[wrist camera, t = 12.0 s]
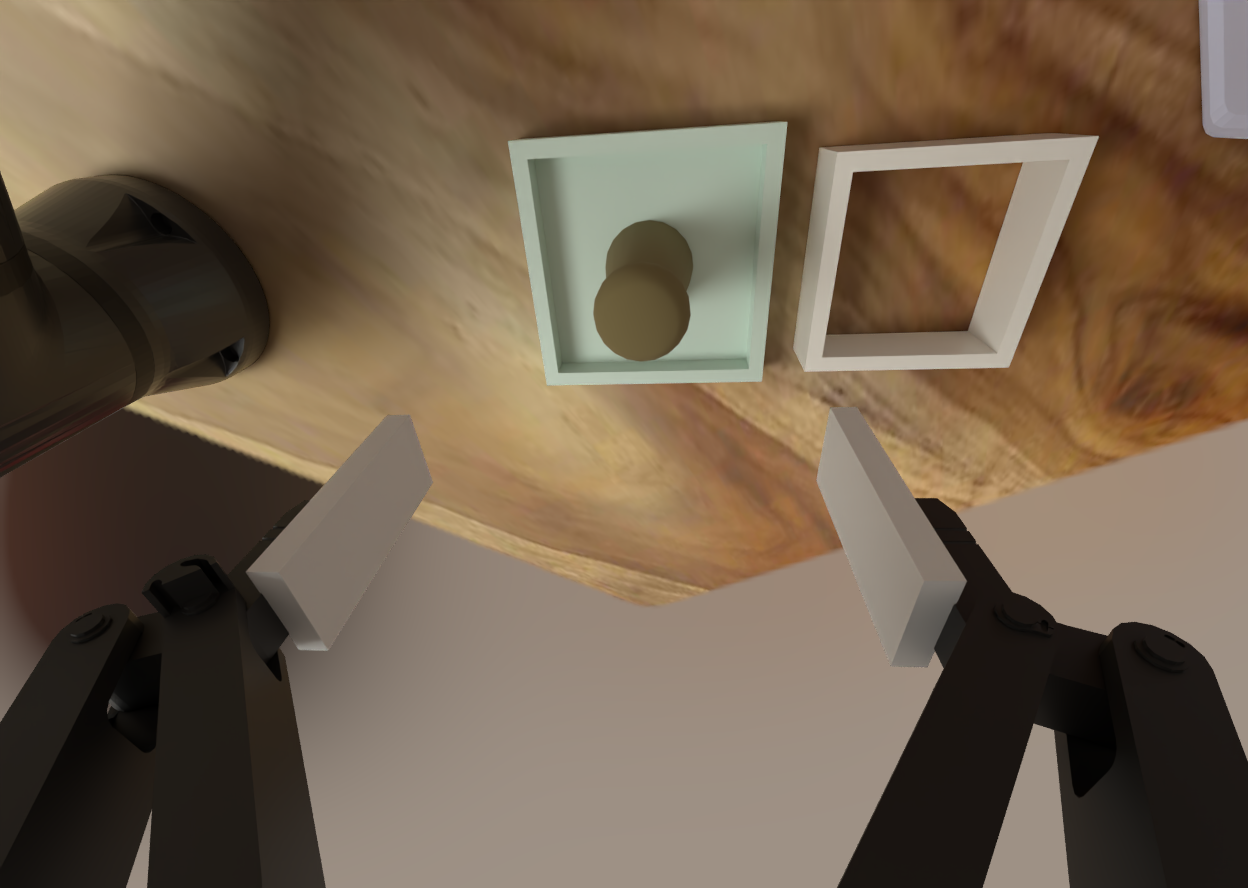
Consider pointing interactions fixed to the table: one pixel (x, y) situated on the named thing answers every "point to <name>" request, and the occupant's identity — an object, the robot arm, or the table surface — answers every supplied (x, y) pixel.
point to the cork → (645, 292)
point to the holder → (1011, 273)
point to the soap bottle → (1224, 67)
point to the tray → (666, 192)
